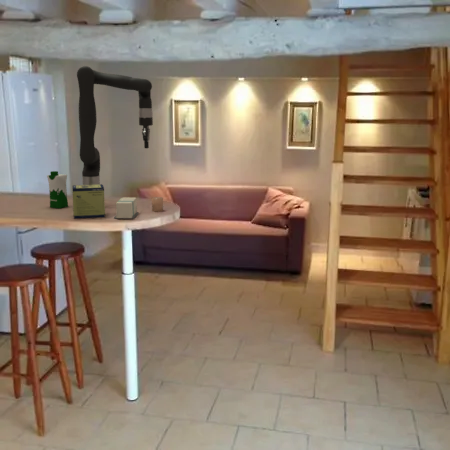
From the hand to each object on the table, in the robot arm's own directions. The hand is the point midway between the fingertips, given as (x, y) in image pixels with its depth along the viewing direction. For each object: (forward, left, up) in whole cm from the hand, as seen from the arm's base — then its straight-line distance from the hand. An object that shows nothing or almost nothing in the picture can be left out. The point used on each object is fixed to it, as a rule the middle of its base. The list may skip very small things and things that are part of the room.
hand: (146, 148), depth 298 cm
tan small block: (+8, -19, -32) cm, 38 cm away
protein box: (-25, -34, -32) cm, 53 cm away
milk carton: (-48, -10, -32) cm, 59 cm away
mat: (-6, -33, -32) cm, 46 cm away
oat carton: (-6, -25, -28) cm, 38 cm away
